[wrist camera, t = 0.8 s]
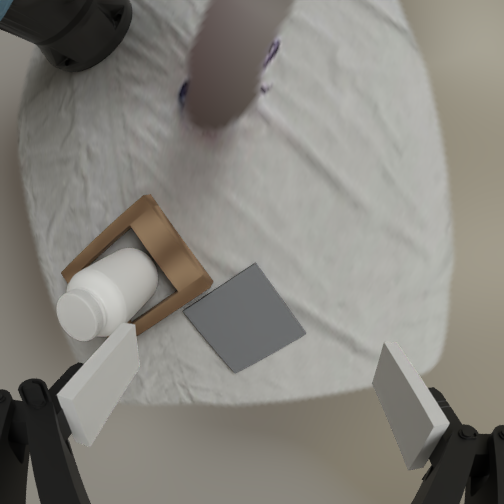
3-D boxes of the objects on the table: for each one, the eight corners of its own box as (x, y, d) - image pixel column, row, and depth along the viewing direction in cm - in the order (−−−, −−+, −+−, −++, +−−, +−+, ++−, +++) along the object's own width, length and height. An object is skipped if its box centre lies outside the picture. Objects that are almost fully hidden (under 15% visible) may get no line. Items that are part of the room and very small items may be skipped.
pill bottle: (101, 279, 42) (39, 320, 27) (124, 235, 40) (59, 263, 25) (143, 312, 42) (94, 367, 28) (170, 269, 41) (121, 315, 26)
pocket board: (69, 268, 42) (60, 272, 39) (150, 194, 38) (143, 195, 36) (123, 341, 44) (117, 349, 41) (213, 281, 41) (209, 287, 38)
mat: (183, 309, 42) (182, 311, 41) (255, 262, 40) (255, 263, 39) (235, 371, 44) (235, 373, 43) (305, 332, 41) (306, 333, 41)
